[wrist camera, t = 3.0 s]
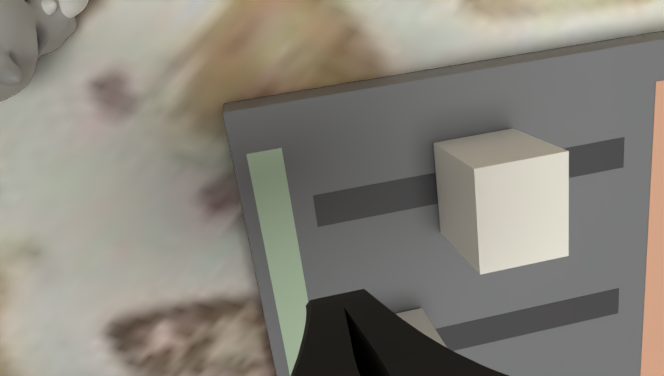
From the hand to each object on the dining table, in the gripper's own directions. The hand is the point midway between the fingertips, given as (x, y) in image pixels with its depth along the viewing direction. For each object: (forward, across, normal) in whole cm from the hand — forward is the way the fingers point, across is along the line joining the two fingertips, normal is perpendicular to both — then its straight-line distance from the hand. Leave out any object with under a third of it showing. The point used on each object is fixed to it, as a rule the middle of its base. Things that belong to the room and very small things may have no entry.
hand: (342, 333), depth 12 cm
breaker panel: (+10, -7, +6) cm, 13 cm away
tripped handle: (+8, -7, 0) cm, 10 cm away
